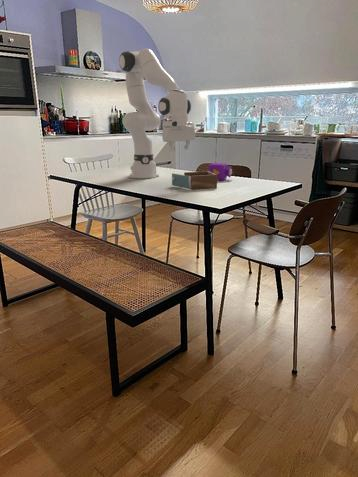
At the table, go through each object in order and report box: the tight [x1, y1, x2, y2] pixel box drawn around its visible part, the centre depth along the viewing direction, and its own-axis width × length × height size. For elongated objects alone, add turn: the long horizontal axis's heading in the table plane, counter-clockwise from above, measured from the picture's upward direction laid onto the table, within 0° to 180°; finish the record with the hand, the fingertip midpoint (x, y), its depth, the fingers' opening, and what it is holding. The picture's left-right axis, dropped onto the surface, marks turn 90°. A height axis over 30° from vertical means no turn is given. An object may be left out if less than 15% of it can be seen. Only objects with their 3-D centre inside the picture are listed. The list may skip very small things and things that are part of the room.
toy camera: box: [208, 161, 233, 181], centre depth 223 cm, size 11×14×10 cm
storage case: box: [183, 170, 218, 191], centre depth 202 cm, size 14×14×7 cm
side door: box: [171, 172, 192, 190], centre depth 198 cm, size 14×2×7 cm, turn 41°
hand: (179, 149), depth 198 cm, fingers open, 8 cm apart
